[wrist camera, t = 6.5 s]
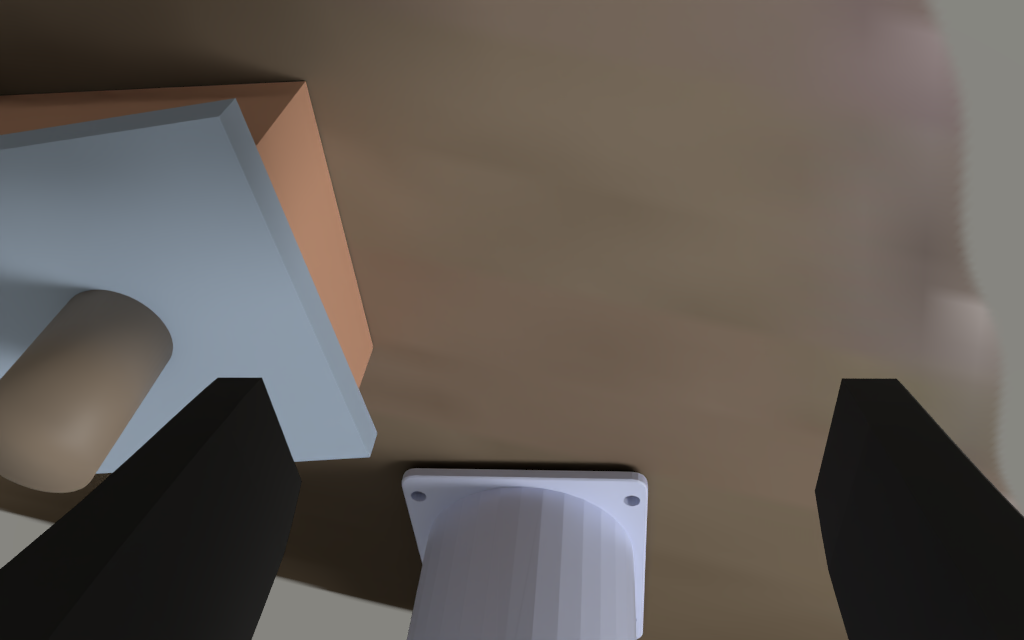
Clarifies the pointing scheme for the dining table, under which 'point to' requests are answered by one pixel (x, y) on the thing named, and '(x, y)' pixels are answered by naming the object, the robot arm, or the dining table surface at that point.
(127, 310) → the lid
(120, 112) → the orange open box
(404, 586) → the dining table surface
